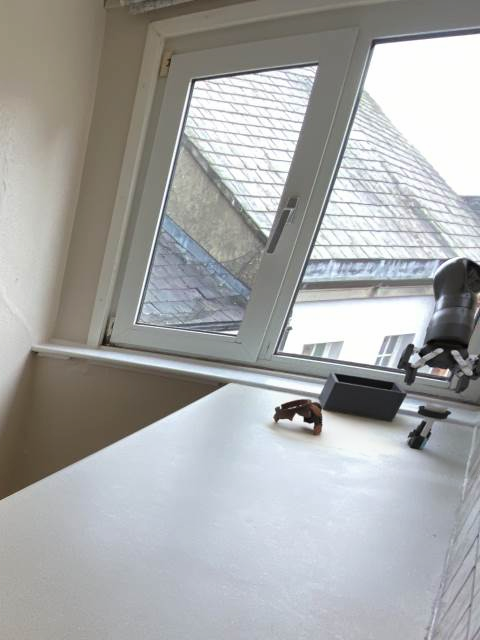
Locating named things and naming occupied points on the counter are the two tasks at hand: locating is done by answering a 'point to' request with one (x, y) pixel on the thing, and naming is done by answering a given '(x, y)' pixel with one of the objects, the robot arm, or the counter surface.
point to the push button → (426, 424)
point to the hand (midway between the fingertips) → (434, 387)
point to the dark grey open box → (362, 396)
